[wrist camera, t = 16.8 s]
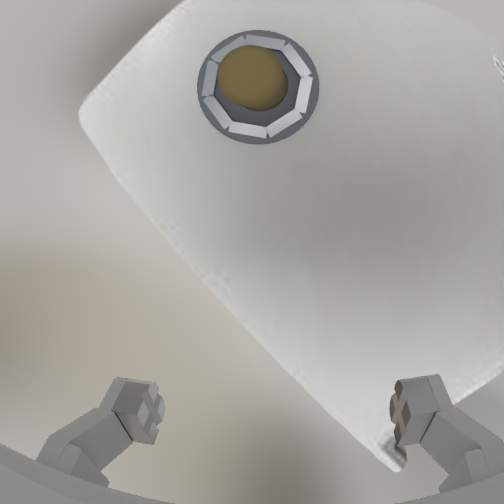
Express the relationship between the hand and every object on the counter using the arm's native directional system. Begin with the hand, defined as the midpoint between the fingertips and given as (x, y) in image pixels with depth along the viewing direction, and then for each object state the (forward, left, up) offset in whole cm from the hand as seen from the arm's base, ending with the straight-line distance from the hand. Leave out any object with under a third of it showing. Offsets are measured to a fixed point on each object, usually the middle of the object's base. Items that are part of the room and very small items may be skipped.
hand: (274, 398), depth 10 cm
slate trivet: (-4, -11, -29) cm, 31 cm away
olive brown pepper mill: (-4, -11, -29) cm, 31 cm away
